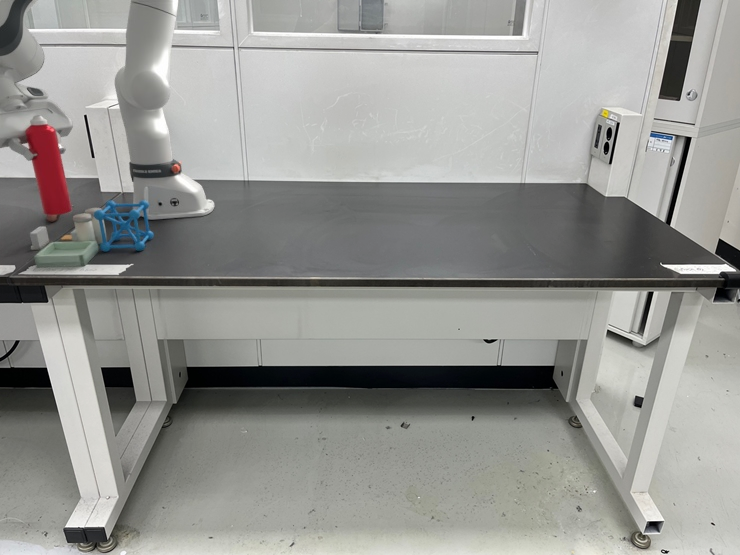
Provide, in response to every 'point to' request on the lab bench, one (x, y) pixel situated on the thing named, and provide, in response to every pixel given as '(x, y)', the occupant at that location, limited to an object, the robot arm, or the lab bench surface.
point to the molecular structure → (124, 225)
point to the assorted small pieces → (69, 243)
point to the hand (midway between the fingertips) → (48, 155)
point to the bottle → (48, 167)
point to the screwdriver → (52, 217)
